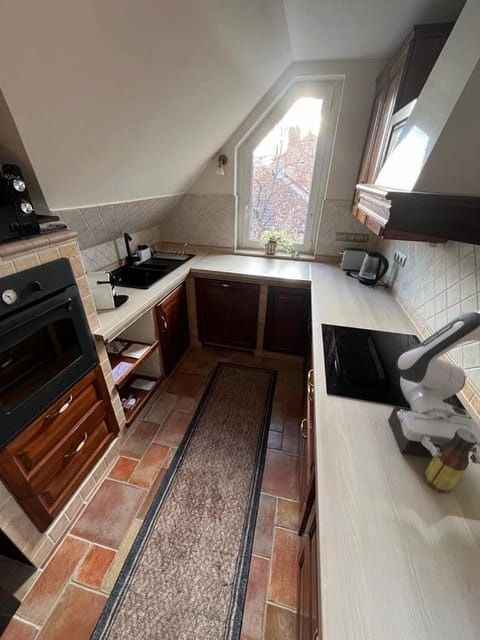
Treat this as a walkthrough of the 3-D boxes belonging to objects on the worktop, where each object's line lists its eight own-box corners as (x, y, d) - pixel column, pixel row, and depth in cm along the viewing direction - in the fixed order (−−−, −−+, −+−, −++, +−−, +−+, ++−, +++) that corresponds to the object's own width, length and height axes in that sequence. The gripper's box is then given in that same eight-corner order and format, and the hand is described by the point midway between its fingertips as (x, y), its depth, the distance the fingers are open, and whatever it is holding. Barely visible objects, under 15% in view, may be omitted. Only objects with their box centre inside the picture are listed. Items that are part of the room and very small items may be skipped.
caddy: (423, 425, 86) (431, 411, 83) (441, 460, 76) (452, 446, 72) (387, 420, 88) (394, 406, 84) (401, 453, 77) (409, 439, 74)
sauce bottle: (455, 488, 69) (493, 444, 59) (439, 498, 67) (477, 453, 57) (431, 466, 74) (463, 421, 64) (416, 474, 72) (447, 429, 62)
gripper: (398, 401, 75) (418, 444, 63) (474, 412, 73) (510, 458, 61) (391, 415, 78) (409, 458, 67) (464, 426, 76) (496, 473, 64)
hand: (458, 459), depth 64 cm, fingers open, 8 cm apart
